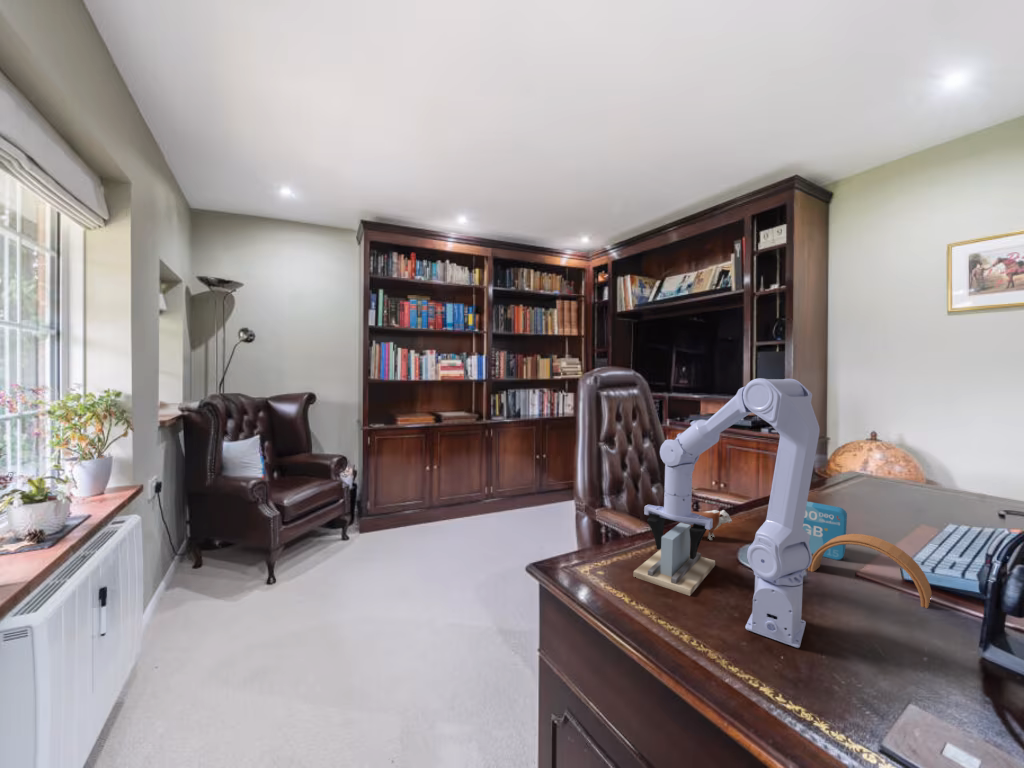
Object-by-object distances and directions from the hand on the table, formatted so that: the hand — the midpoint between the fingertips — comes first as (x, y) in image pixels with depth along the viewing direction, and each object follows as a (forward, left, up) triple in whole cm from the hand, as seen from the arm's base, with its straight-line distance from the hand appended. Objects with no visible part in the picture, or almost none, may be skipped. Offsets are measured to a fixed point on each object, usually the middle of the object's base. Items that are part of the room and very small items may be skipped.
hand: (675, 552), depth 97 cm
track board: (0, 0, -4) cm, 4 cm away
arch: (+22, -33, -5) cm, 40 cm away
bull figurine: (+25, +1, -4) cm, 25 cm away
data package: (+35, -23, -4) cm, 42 cm away
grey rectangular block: (0, 0, -3) cm, 3 cm away
